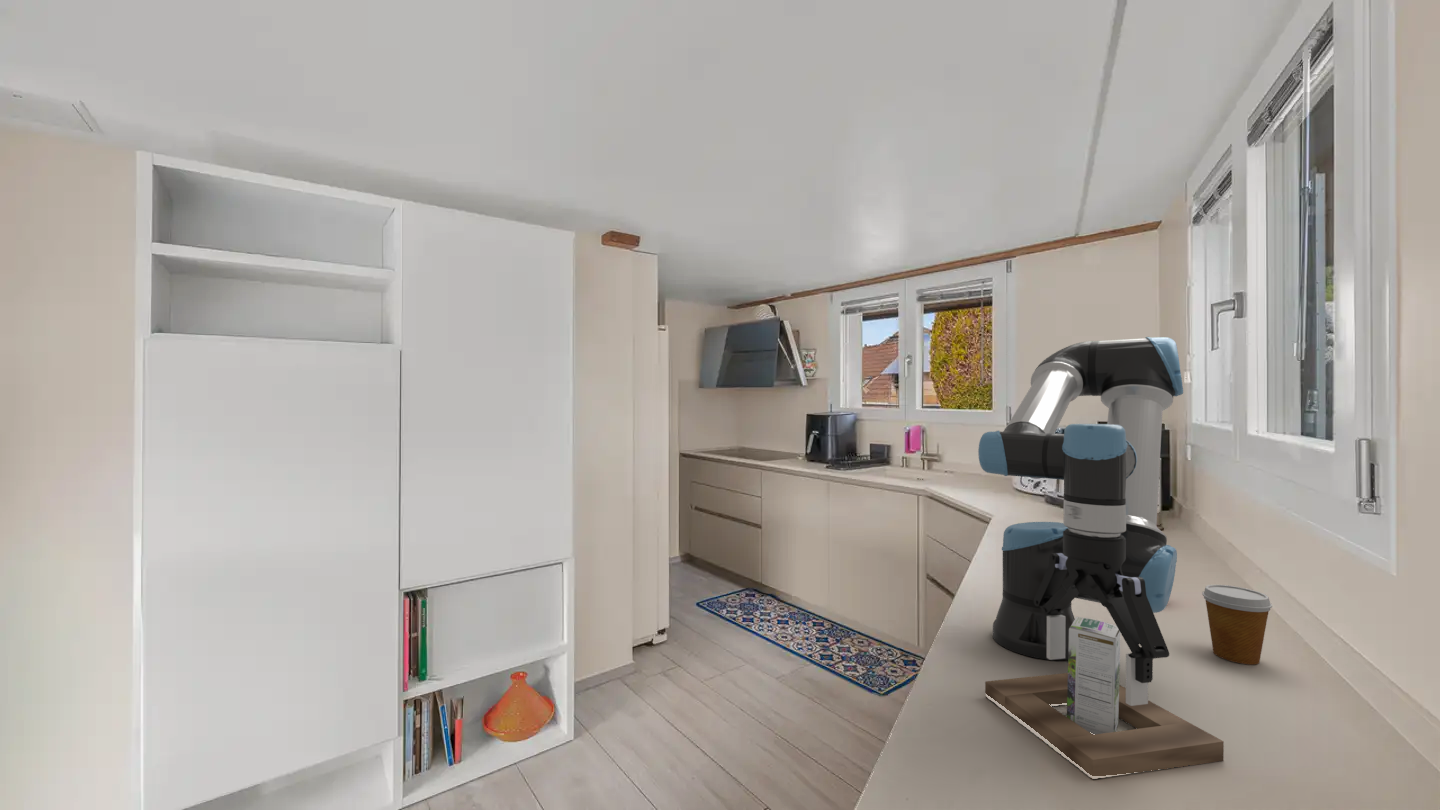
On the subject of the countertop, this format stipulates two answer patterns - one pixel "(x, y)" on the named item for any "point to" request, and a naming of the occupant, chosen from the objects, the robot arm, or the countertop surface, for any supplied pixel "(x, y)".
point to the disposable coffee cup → (1237, 622)
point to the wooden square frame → (1113, 753)
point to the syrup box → (1093, 675)
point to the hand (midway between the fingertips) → (1093, 679)
